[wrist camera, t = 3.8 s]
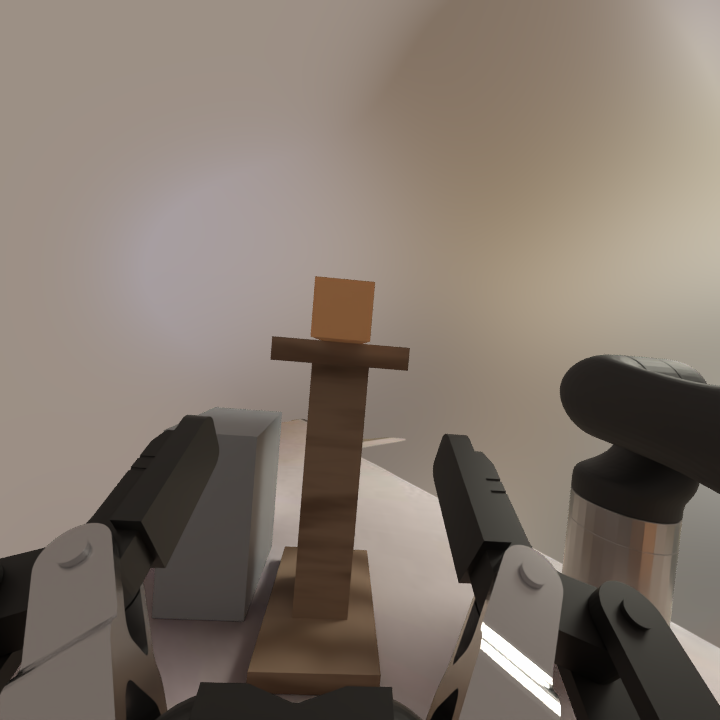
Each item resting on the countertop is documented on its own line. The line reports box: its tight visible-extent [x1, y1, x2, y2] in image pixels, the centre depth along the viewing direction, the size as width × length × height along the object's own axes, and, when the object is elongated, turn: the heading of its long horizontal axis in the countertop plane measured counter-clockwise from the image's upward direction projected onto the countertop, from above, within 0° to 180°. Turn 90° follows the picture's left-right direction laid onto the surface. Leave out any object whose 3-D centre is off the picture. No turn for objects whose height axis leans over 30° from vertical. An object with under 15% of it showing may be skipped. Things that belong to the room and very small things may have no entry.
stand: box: [247, 337, 410, 695], centre depth 35 cm, size 17×12×32 cm
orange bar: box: [311, 276, 375, 344], centre depth 30 cm, size 24×4×4 cm, turn 3°
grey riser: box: [152, 407, 282, 621], centre depth 40 cm, size 13×10×21 cm
